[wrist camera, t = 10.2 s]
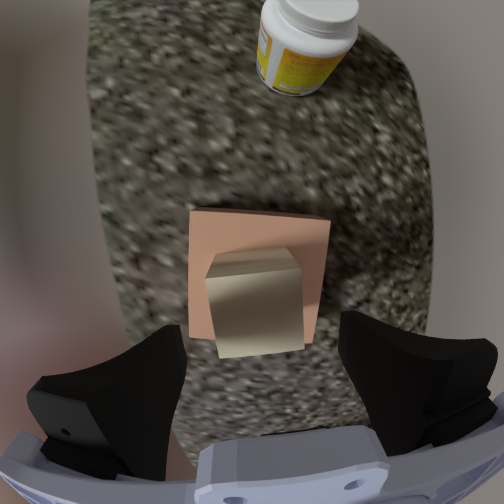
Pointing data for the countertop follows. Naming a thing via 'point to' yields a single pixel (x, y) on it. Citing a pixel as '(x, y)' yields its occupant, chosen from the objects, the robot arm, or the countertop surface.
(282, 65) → the supplement bottle
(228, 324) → the metal block
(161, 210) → the countertop surface
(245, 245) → the terracotta box
